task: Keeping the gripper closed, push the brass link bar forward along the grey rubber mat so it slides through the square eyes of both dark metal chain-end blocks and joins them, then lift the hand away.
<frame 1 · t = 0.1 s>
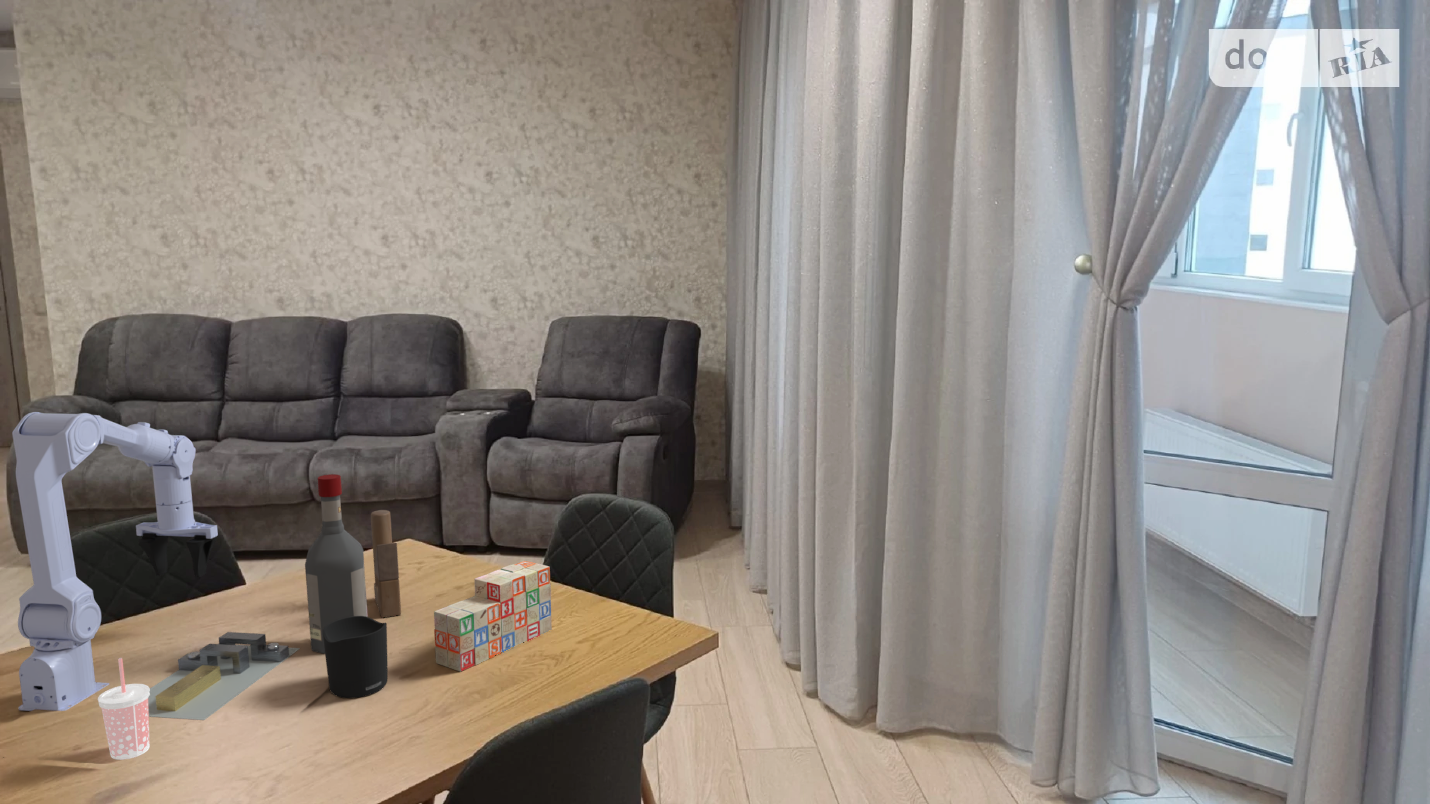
hand: (181, 574, 182), 10 cm above the table, tool pointing down, fingers open, 7 cm apart
mat: (212, 682, 161), on the table
beverage cup: (130, 756, 139), on the table
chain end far: (244, 660, 170), resting on mat
pen holder: (359, 688, 159), on the table
link bar: (190, 694, 156), point 1 cm above the table, touching mat
liquor: (340, 646, 176), on the table
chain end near: (226, 672, 165), resting on mat
wooden block: (388, 608, 193), on the table
stack of blocks: (496, 648, 175), on the table
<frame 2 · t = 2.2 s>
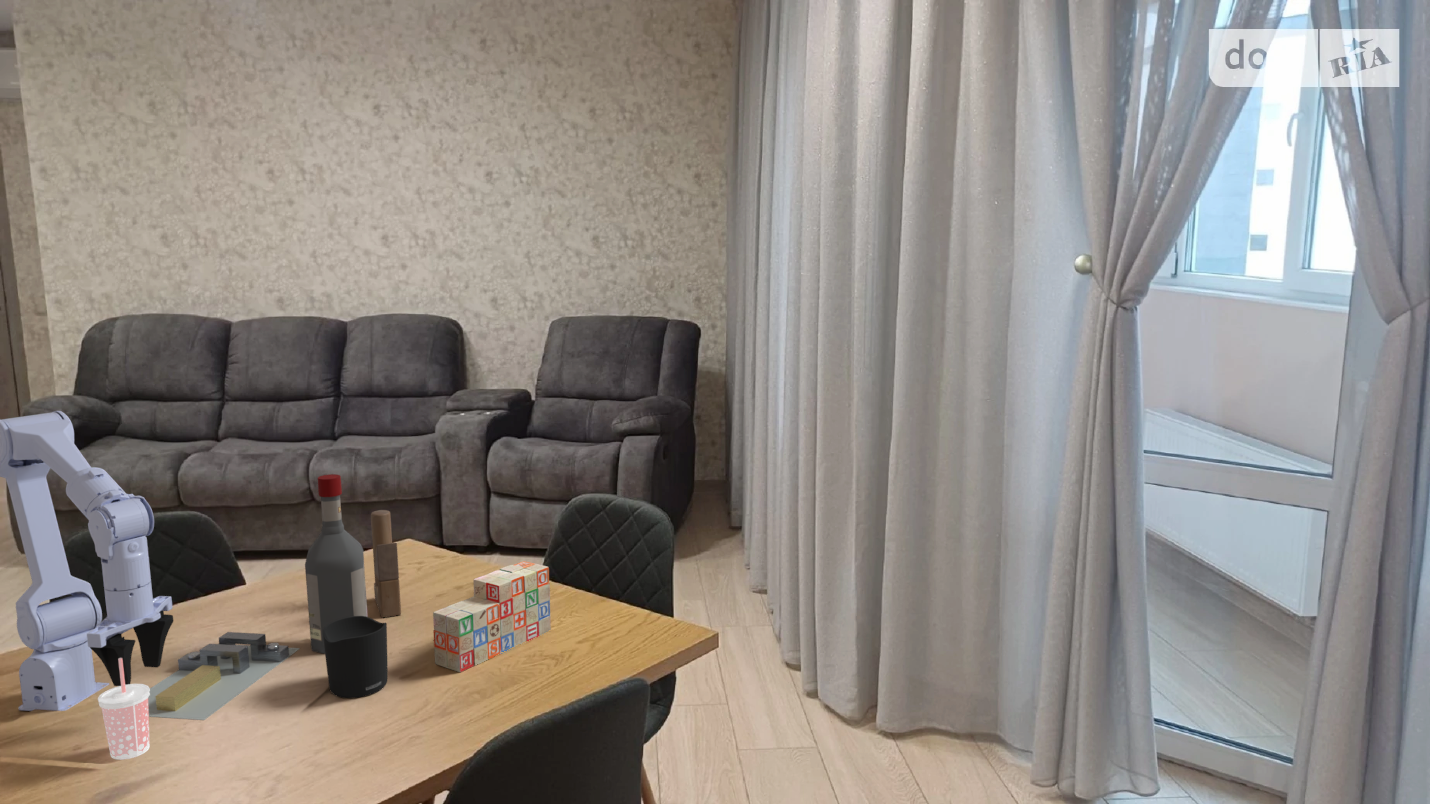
hand: (137, 675, 144), 8 cm above the table, tool pointing down, fingers open, 6 cm apart
nothing on the table moved.
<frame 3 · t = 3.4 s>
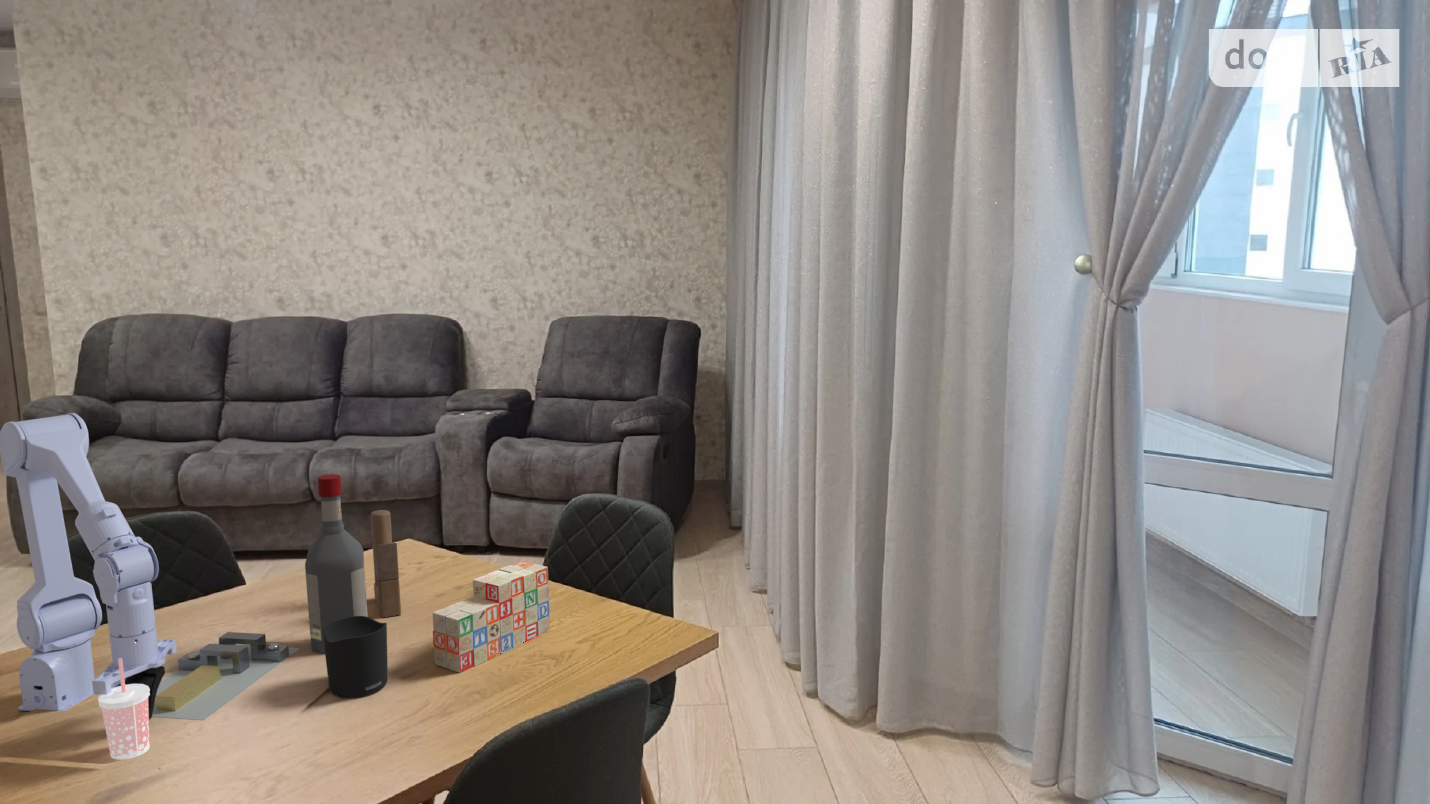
hand: (142, 719, 145), 2 cm above the table, tool pointing down, fingers closed
nothing on the table moved.
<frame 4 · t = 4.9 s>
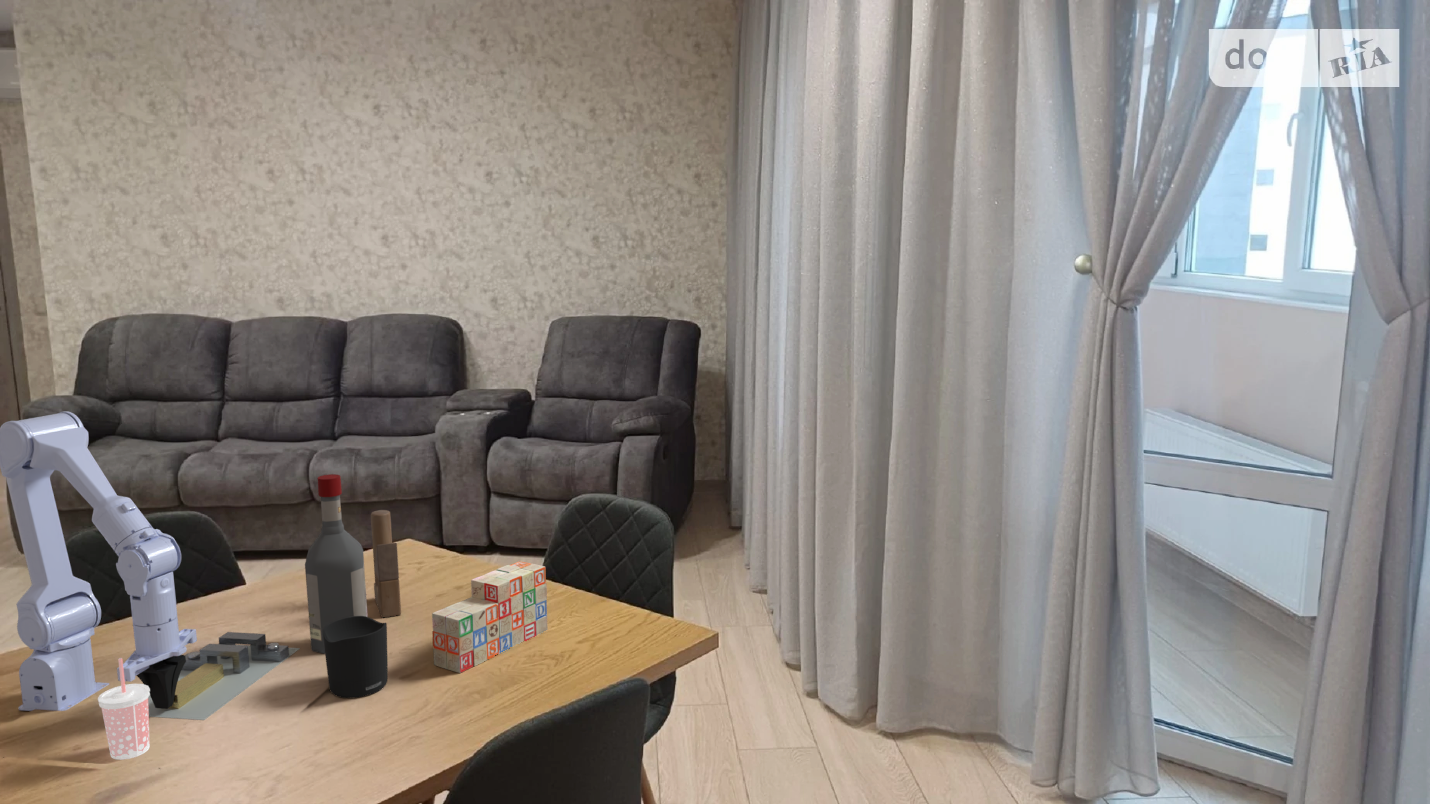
hand: (164, 706, 150), 1 cm above the table, tool pointing down, fingers closed
link bar: (193, 691, 156), point 1 cm above the table, touching gripper, mat
everything else where it was.
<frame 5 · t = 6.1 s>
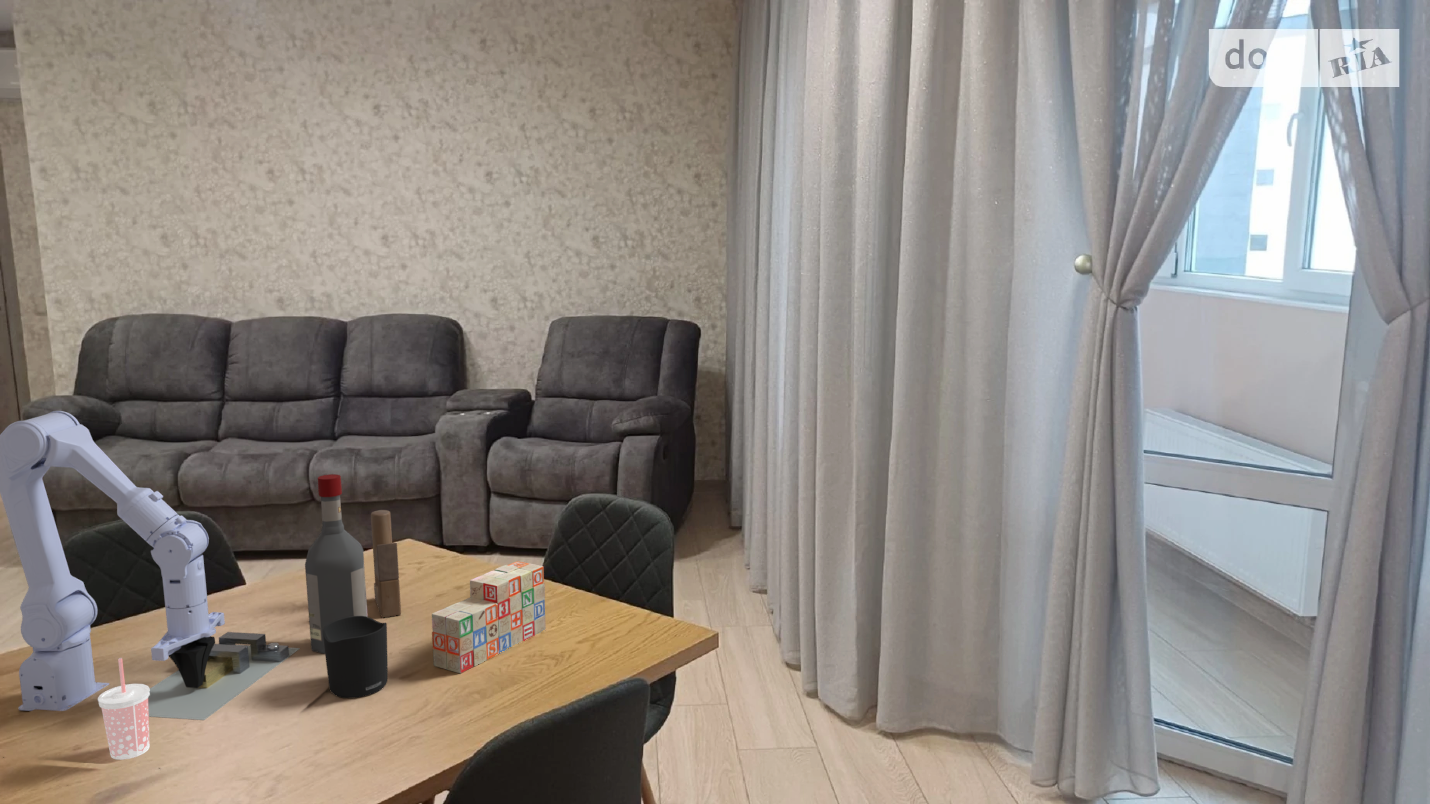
hand: (194, 685, 157), 1 cm above the table, tool pointing down, fingers closed
link bar: (219, 672, 163), point 1 cm above the table, touching gripper, mat
everything else where it was.
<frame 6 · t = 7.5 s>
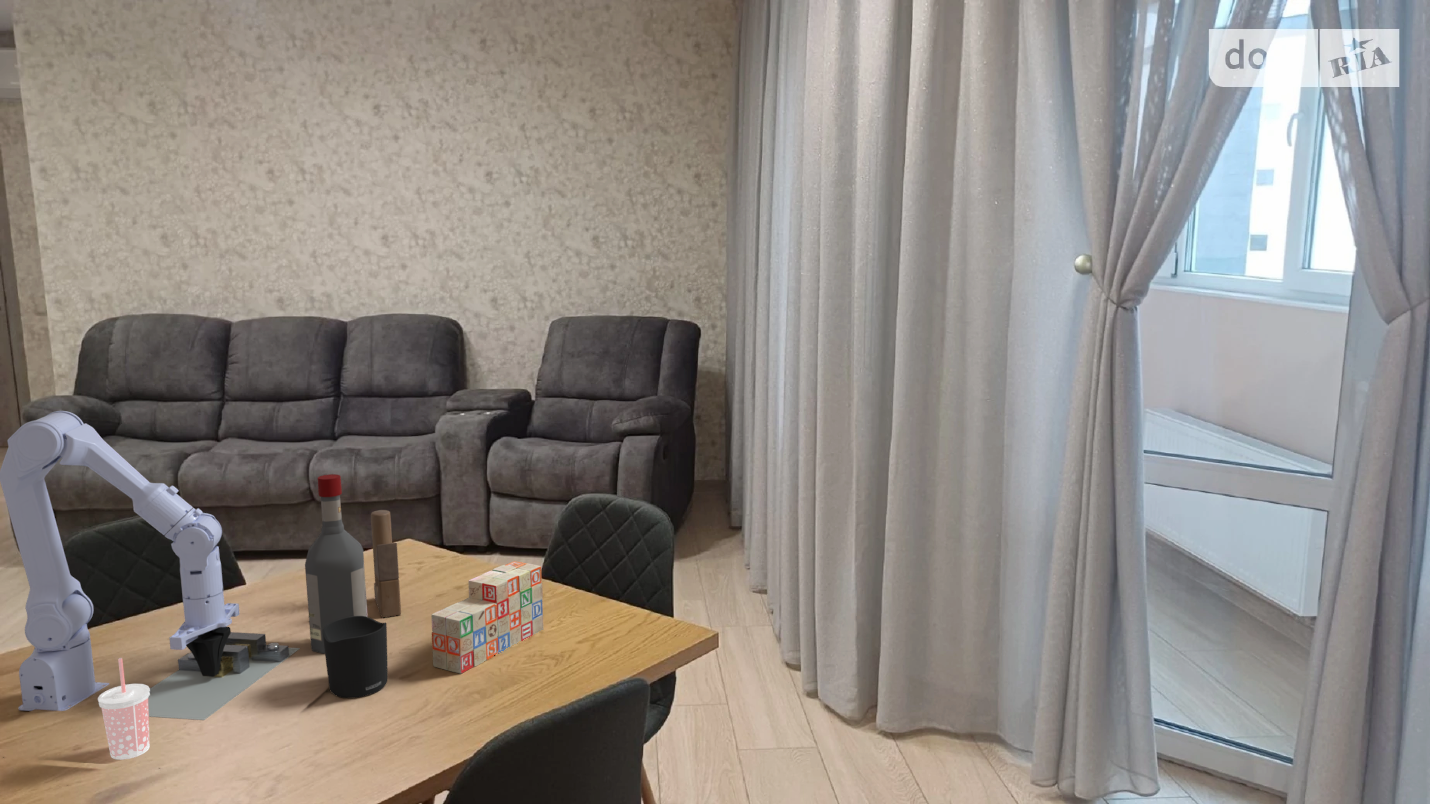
hand: (210, 674, 161), 1 cm above the table, tool pointing down, fingers closed
link bar: (234, 662, 167), point 1 cm above the table, touching gripper, mat
everything else where it was.
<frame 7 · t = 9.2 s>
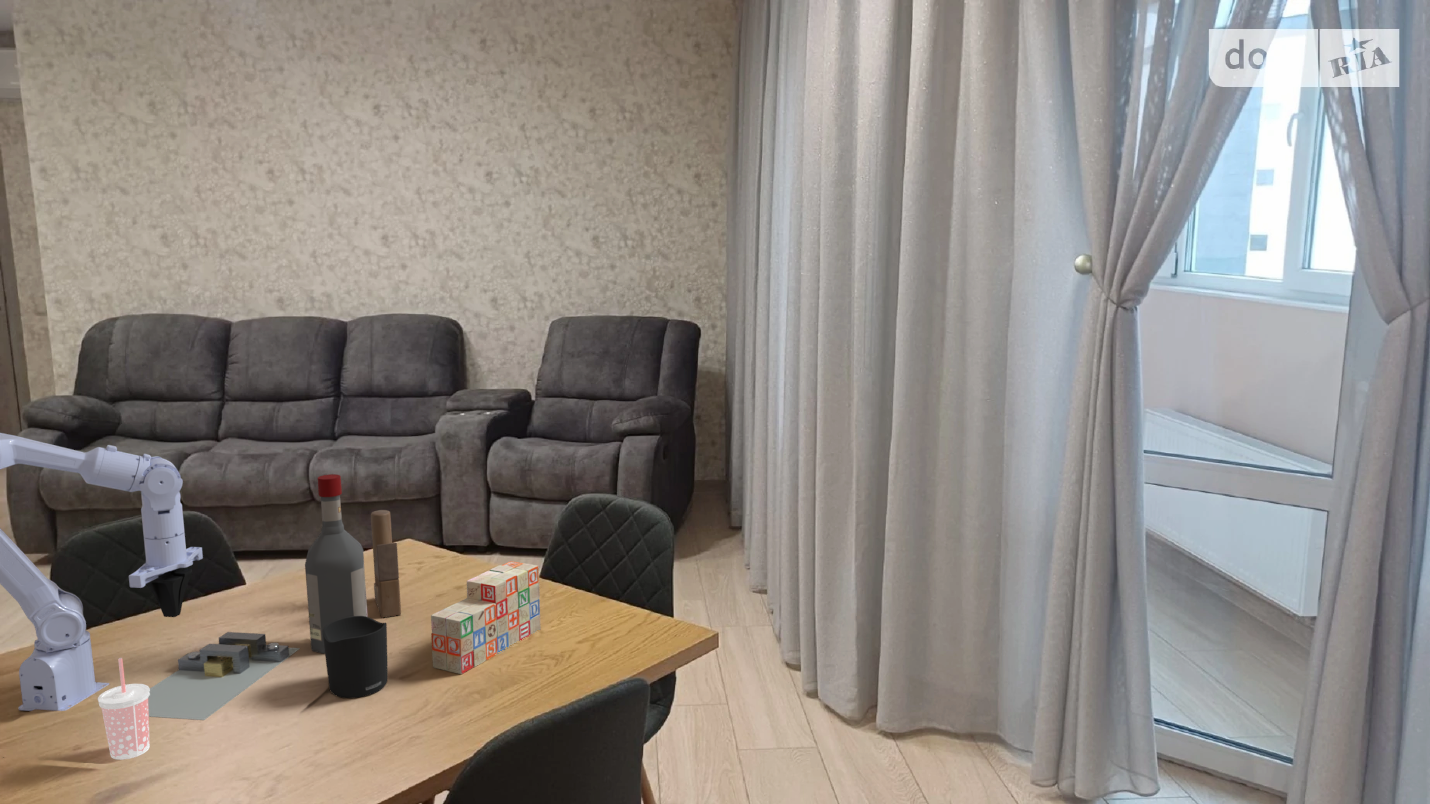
hand: (172, 615, 163), 10 cm above the table, tool pointing down, fingers closed
link bar: (234, 662, 167), point 1 cm above the table, touching mat
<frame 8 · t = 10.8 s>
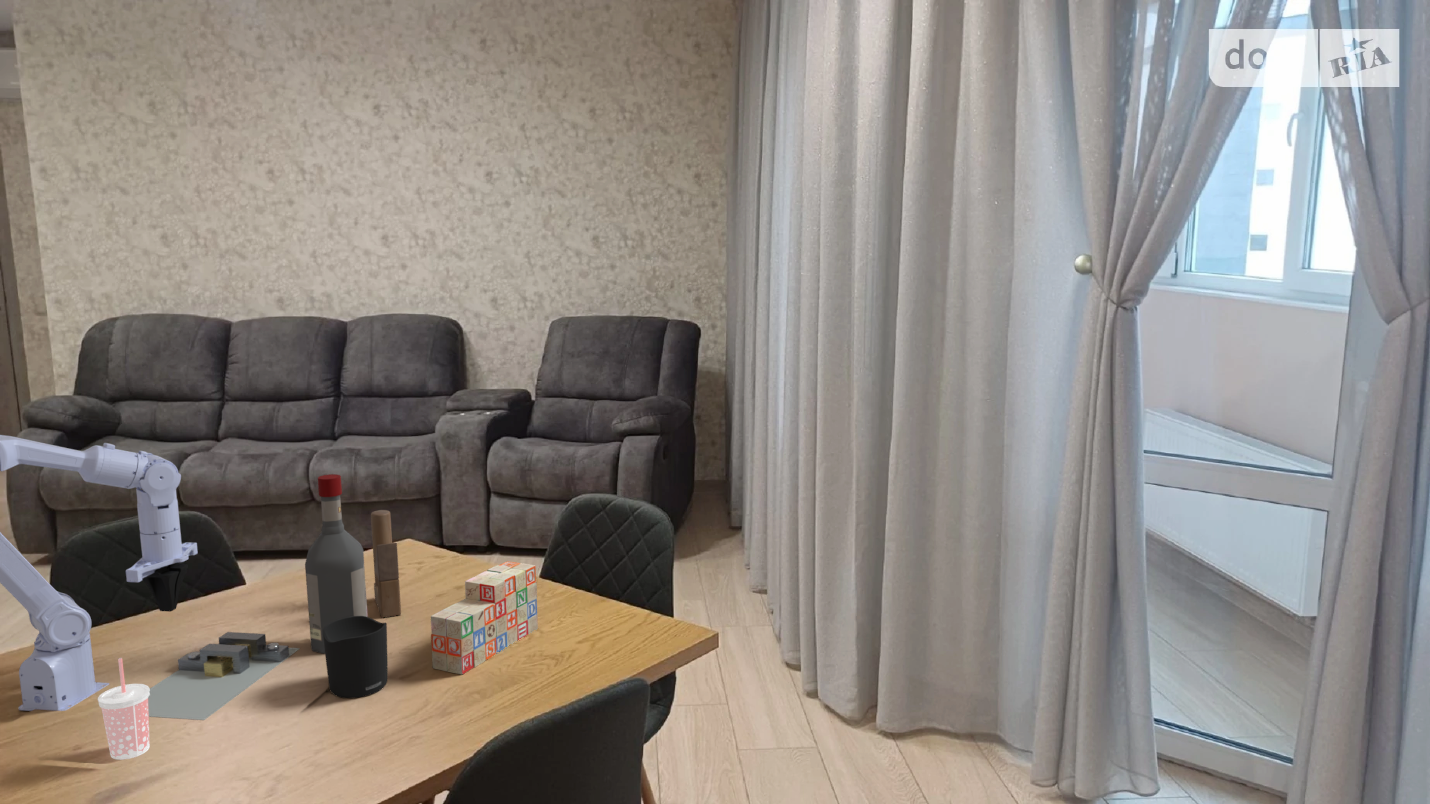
hand: (168, 609, 165), 10 cm above the table, tool pointing down, fingers closed
at the end: link bar 0.3 cm from the target spot, point 0.6 cm above the table; link bar tilted 0° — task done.
